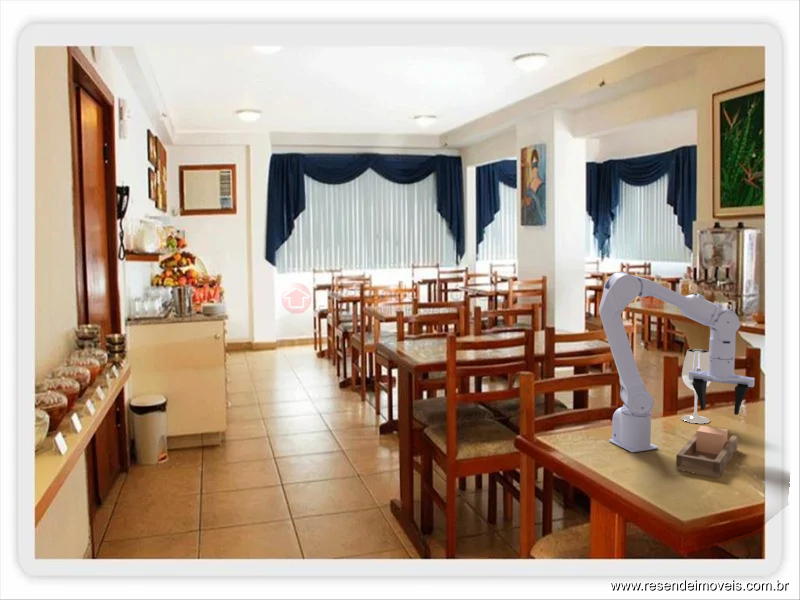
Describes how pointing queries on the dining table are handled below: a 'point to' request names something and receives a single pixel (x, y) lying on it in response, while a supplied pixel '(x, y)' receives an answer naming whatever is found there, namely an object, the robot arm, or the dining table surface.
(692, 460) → the shallow wooden tray
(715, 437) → the block
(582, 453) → the dining table surface
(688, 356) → the wineglass
